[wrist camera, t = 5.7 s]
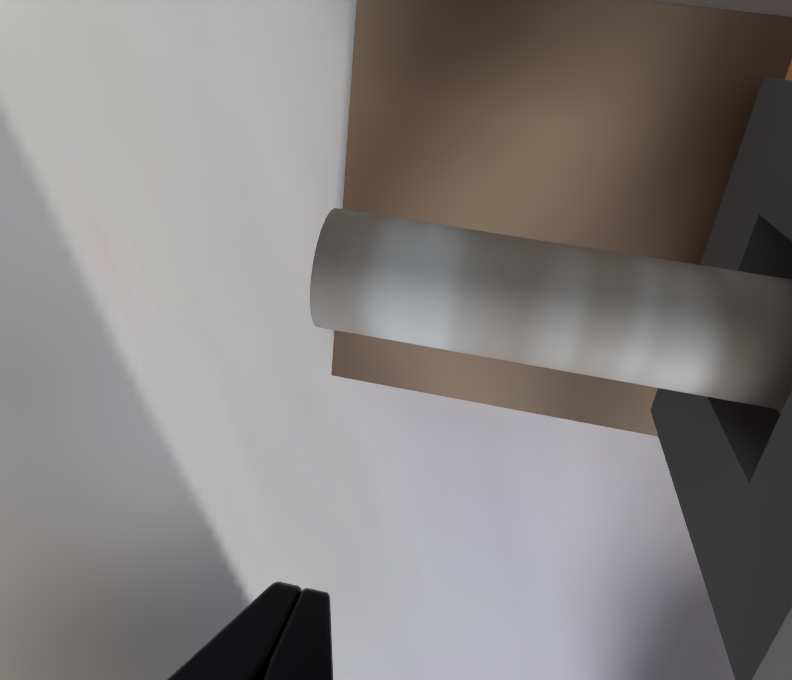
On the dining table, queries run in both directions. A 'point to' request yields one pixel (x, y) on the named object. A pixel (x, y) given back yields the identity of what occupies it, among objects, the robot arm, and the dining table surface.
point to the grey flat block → (743, 421)
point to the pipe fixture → (551, 207)
